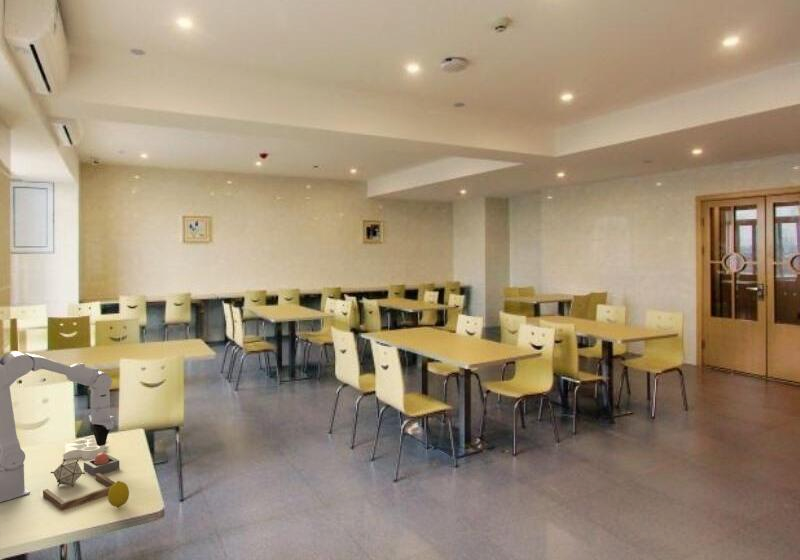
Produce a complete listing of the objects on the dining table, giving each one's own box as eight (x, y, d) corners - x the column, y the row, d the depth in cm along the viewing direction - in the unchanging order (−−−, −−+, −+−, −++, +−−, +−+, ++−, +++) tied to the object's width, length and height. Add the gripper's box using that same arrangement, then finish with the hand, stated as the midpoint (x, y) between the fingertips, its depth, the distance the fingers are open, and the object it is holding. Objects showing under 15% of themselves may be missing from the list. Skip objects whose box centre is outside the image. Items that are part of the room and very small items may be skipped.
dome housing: (94, 476, 179) (94, 467, 178) (83, 470, 184) (83, 461, 183) (119, 468, 185) (119, 460, 185) (108, 462, 190) (108, 454, 190)
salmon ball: (97, 469, 181) (97, 456, 181) (92, 466, 184) (91, 453, 184) (111, 465, 185) (110, 452, 184) (105, 462, 187) (105, 449, 187)
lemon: (124, 501, 162) (123, 475, 161) (132, 507, 158) (132, 480, 158) (104, 508, 157) (104, 481, 157) (113, 514, 154) (112, 487, 153)
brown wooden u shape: (61, 510, 155) (61, 504, 155) (43, 496, 164) (42, 490, 164) (119, 490, 168) (119, 484, 168) (99, 478, 177) (99, 472, 177)
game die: (75, 493, 174) (96, 467, 176) (57, 496, 166) (79, 468, 168) (57, 477, 176) (78, 451, 178) (38, 478, 168) (60, 451, 170)
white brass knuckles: (65, 447, 205) (108, 441, 212) (62, 464, 189) (109, 456, 197) (65, 438, 205) (108, 433, 212) (62, 454, 189) (109, 447, 196)
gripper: (122, 407, 182) (123, 446, 183) (103, 399, 191) (103, 437, 191) (100, 412, 176) (101, 452, 177) (81, 404, 185) (82, 442, 186)
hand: (101, 445), depth 184 cm, fingers closed
